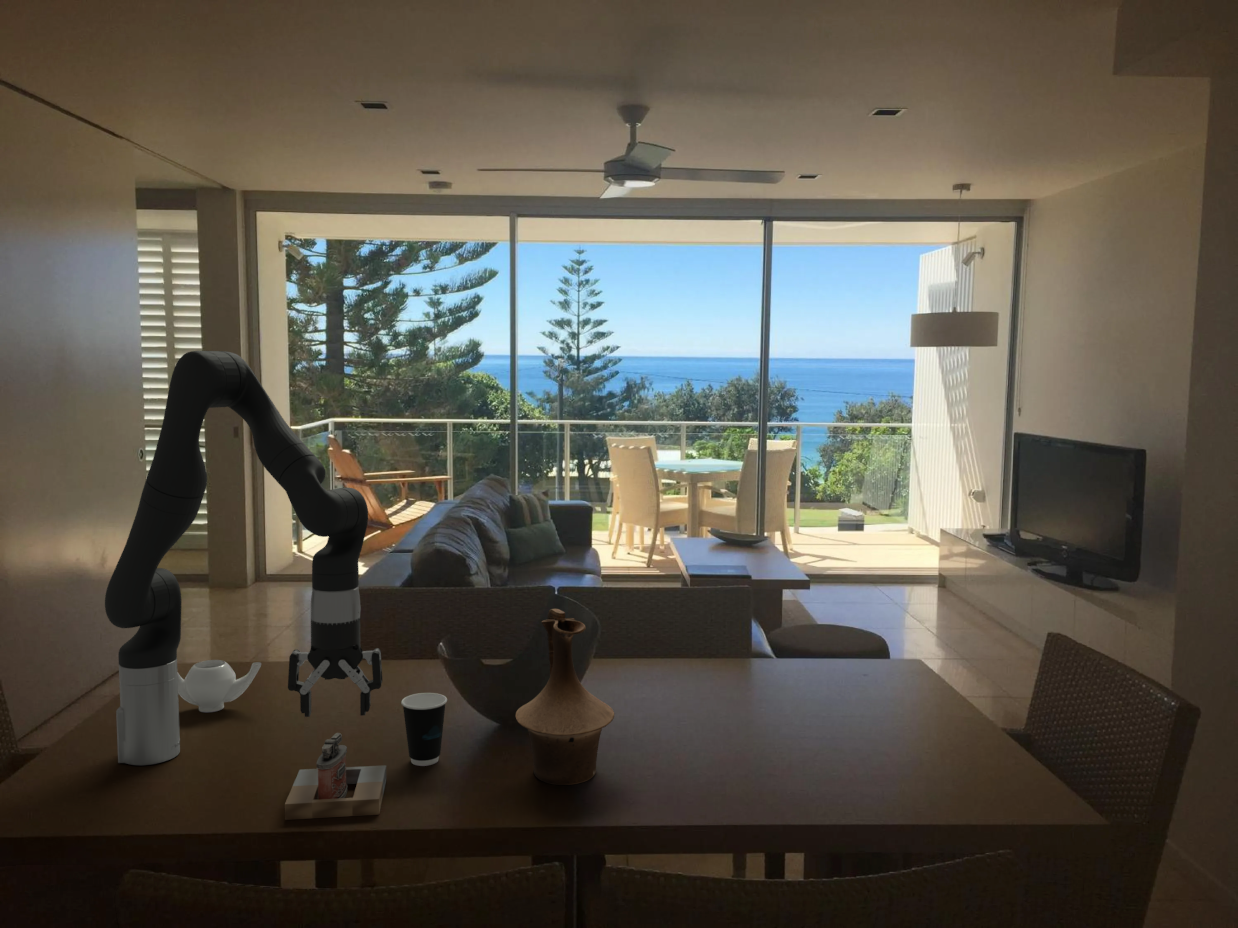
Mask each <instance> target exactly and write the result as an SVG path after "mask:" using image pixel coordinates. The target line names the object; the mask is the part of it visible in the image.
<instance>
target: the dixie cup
mask: <svg viewBox="0 0 1238 928" xmlns="http://www.w3.org/2000/svg"><path fill="white" fill-rule="evenodd" d="M447 702H448V698H447V697H446V695H443V694H441V693H437V692H419V693H413V694H410V695H407V696H405V697H404V698H402V700H401V706H402V708H403V716H404V723H405V724H404V725H405V732H406V733H405V734H406V740H407V741H406V742H407V750H408V757H409V758H410V763H411V764H413V765H415V766H420V767H425V766H426V767H427V766H431V765H434V764H437V763H438V762H439V758H440V755H441V753H442V752H441V751H442V741H443V734H444V733H443V731H444V722H445V713H446V712H445V711H446V703H447Z"/></svg>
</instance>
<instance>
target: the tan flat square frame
mask: <svg viewBox="0 0 1238 928" xmlns="http://www.w3.org/2000/svg"><path fill="white" fill-rule="evenodd" d="M386 783H387V765H384V764H383V765H368V766H346V785H354V784H356V787H355V789H354V793H353V796H352V797H345V798H337V799H319V798H318V768H306V769H305V768H304V769H298V773H297V776H296V778H295V779H294V781H293V784H292V786H291V789H290V791H289V793H288V796H287V798H286V800H285V803H284V820H285V821H288V820H290V821H291V820H305V819H306V820H307V819H322V818H323V819H324V818H340V817H341V818H343V817H357V816H358V817H359V816H376V815H378V816H379V815H380V812H381V807H382V802H383V798H384V793H385V789H386Z"/></svg>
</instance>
